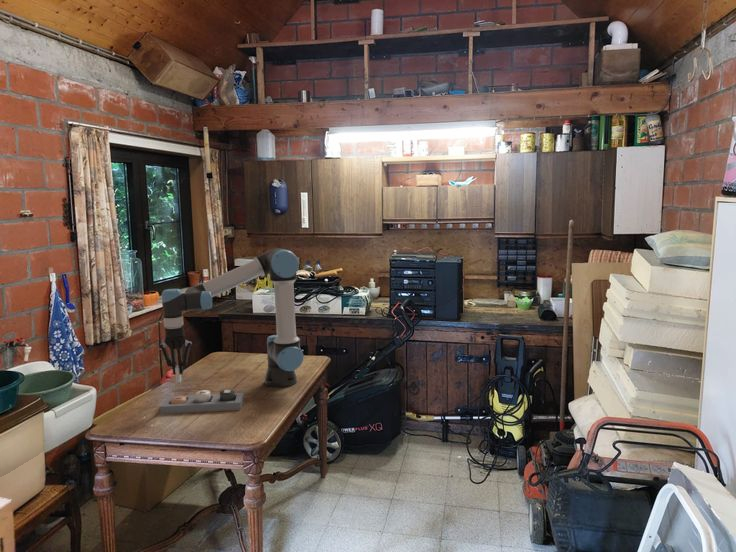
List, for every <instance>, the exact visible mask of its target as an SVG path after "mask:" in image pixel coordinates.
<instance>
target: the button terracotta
mask: <svg viewBox="0 0 736 552" xmlns="http://www.w3.org/2000/svg"><path fill="white" fill-rule="evenodd" d="M175 396H176V397H173V398H172V399H171V404H182V403H186V397H185V396H186V395H175Z"/></svg>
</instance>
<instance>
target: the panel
mask: <svg viewBox="0 0 736 552" xmlns="http://www.w3.org/2000/svg"><path fill="white" fill-rule="evenodd" d="M244 394H245V393H244V392H235V400H233V401H220V393H210V395H211V400H210V401H209V402H201V403H197V402H196V394H191V395H190V394H189V395H187V394H186V395H184V396H185V397H186V403H182V404H171V399H172V398H173V397H176V396H177V395H169V396H166V398H165V399H164V401H163V402H162V404H161V405H160V407H159V409H160V415H164V414H182V413H201V412H204V413H205V412H217V411H219V412H220V411H221V412H222V411H236V410H237V411H239V410H242V406H243V403H244V400H245V398H244V397H245V395H244Z"/></svg>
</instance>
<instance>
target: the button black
mask: <svg viewBox="0 0 736 552" xmlns="http://www.w3.org/2000/svg"><path fill="white" fill-rule="evenodd" d="M235 393H236V392H235V389H233V388H225V389H222V390H220V391H219V394H220V401H233V400H235Z"/></svg>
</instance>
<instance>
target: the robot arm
mask: <svg viewBox="0 0 736 552" xmlns="http://www.w3.org/2000/svg"><path fill="white" fill-rule="evenodd" d="M299 264H300V262H299V259H298V256H297V255H296V254H295V253H294V252H292V251H291V250H289V249H285V248H281V247H275V248H271V249H269V250H267V251H265V252H263V253H262V254H259V255H258V256H255V257H254V259H253V260H251V261H248V262H247V263H245V264H243V265H240V266H238V267H236V268H234V269H233V268H232V269H230V270H229V271H226V272H225V273H222V274H220V275H218V276H215V277H213V278H211V279H209V280H206V281H204V282H202V283H200V284H198V285H193V286H190V287H188V288H186V290H185V291H184V293H183V292H182V290H181V289H180V288H167V289H164V290H162V292H161V305H162V315H163V326H164V337H165V338H164V341H163V342H161V343H160V344H159V345H158V348H160V349H161V351H162V353H163V357H164V360H165V362H166V365H167V367H171V368H172V375H173V376H175V383H176V384H179V383H181V382H182V375H183V373H184V366H186V365H187V364H188V359H189V353H190V348H191V346H192V344H193V342H192V341H189V340H187V338H186V335H185V327H184V325H185V324H184V323H185V322H184V314H183V312H189V311H190V312H191V311H201V310H202V311H203V310H208V309H212V307H213V298H214V297H216V296H218V295H220V294H222V293H223V294H224V293H225V292H227V291H230V290H231V289H234V288H235V287H238V286H240V285H242V284H245V283H247V282H249V281H251V280H254V279H256V278H258V277H260V276H261V277H266V276H267V275H269V280H270V282H271V283H272V284H273V288H274V289H273V291H274V308H275V311H274V312H275V327H276V329H275V330H276V334H272V335H269V336H268V337H267V339H266V351H267V369H266V373H265V376H264V384H265V385H266V386H267V387H271V388H272V387H273V388H285V387H290V386H293V385H294V384H296V383H297V382H298V381H297V379H298V377H297V374H296V370H297V369H298V368H300V367H301V366H302V364H303V362H304V352H303V350H302V349H301V339H300V337H298V335H297V326H296V325H297V324H296V323H297V322H296V308H295V306H296V305H295V289H294V288H295V287H294V284H295V282H296V281H297V277H298V276H297V272H298V271H299V266H300V265H299ZM184 345H185V349H184V350H185V351H184V354H183V352H182V351H183V350H182V349H183V346H184ZM167 347H168V348H169V349H170V350H169V351H170V354H169V351H168V348H167ZM176 352H177V355H176Z"/></svg>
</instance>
